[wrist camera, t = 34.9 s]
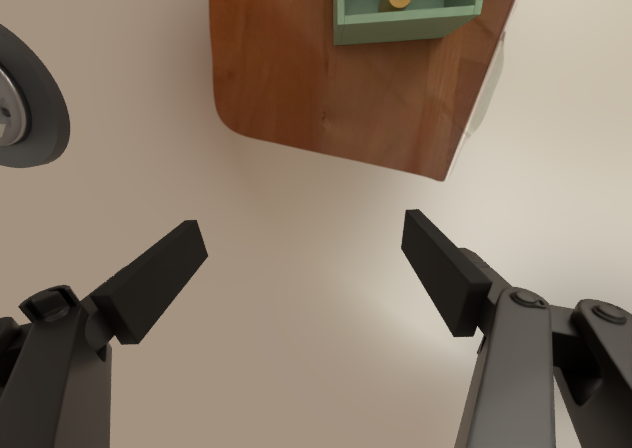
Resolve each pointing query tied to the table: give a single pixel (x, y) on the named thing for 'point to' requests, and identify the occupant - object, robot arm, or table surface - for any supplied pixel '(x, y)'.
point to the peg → (392, 5)
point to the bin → (399, 20)
